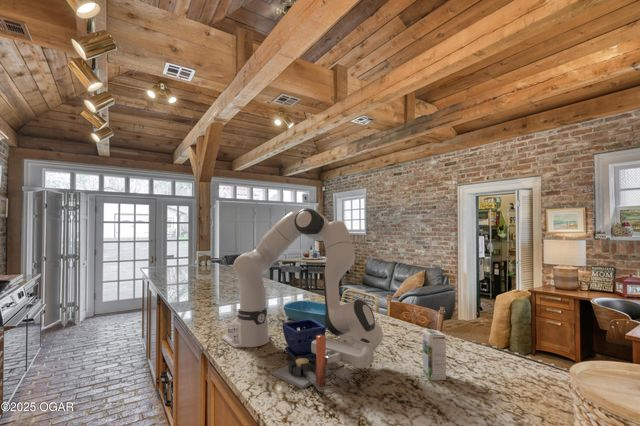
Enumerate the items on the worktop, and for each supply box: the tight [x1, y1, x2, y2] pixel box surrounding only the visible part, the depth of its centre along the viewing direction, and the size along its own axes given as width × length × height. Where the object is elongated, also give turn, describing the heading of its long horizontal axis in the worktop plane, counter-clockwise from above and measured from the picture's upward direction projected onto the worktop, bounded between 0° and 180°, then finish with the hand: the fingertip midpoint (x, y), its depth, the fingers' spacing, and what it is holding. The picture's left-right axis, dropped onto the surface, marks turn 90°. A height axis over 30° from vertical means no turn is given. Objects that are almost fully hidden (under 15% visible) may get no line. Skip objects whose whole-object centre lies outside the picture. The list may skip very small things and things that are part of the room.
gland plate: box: [272, 358, 332, 390], centre depth 106 cm, size 14×14×4 cm
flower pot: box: [282, 319, 327, 359], centre depth 123 cm, size 13×13×12 cm
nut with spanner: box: [287, 334, 327, 393], centre depth 101 cm, size 21×9×16 cm, turn 25°
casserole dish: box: [282, 300, 326, 327], centre depth 173 cm, size 37×22×7 cm, turn 57°
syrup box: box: [422, 329, 447, 381], centre depth 105 cm, size 6×6×14 cm
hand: (324, 359), depth 94 cm, fingers closed, pressing on nut with spanner
